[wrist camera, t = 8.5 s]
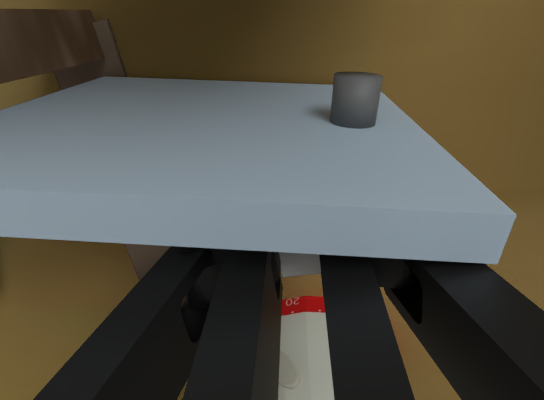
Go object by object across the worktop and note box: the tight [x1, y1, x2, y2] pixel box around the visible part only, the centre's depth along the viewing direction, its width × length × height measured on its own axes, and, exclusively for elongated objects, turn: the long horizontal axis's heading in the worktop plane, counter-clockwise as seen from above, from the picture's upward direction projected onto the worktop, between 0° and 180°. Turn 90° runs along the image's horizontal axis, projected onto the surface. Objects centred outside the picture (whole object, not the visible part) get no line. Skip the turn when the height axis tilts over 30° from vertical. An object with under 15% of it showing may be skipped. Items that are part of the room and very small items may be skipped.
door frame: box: [0, 9, 185, 306], centre depth 17 cm, size 22×4×16 cm, turn 9°
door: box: [0, 72, 517, 264], centre depth 13 cm, size 15×3×14 cm, turn 88°
